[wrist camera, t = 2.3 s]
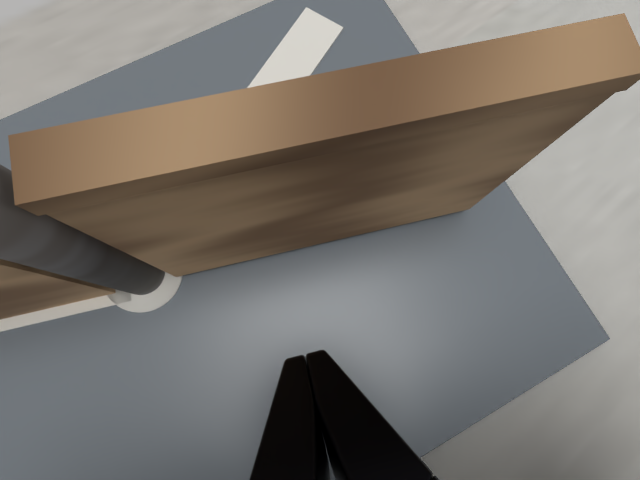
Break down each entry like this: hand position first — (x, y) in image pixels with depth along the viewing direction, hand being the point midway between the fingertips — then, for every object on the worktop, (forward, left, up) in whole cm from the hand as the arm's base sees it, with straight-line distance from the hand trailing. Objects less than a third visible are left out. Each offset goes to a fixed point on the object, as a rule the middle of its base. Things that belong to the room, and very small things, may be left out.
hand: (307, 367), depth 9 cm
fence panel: (+4, -3, -6) cm, 7 cm away
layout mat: (+4, +2, -7) cm, 8 cm away
